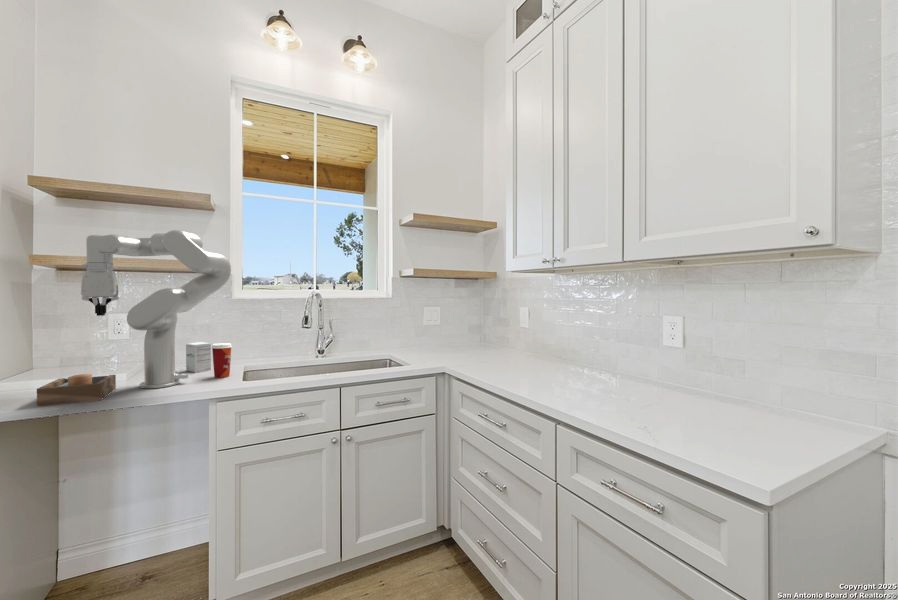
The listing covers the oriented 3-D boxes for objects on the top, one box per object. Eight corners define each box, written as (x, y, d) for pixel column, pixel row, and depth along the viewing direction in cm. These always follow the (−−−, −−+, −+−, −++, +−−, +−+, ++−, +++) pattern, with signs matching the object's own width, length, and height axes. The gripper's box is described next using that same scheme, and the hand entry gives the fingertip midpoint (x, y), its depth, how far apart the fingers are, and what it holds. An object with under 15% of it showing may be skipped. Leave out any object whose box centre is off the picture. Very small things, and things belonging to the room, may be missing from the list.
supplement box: (185, 371, 176) (185, 343, 176) (202, 368, 183) (202, 341, 182) (194, 372, 173) (194, 344, 172) (211, 369, 179) (211, 342, 179)
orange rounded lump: (91, 389, 139) (90, 373, 138) (93, 393, 134) (92, 376, 134) (68, 393, 134) (67, 376, 134) (69, 397, 130) (68, 379, 130)
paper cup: (231, 377, 164) (231, 344, 164) (210, 379, 161) (210, 345, 161) (232, 373, 171) (232, 342, 171) (212, 375, 168) (212, 343, 168)
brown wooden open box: (59, 394, 137) (58, 378, 136) (115, 389, 144) (115, 374, 143) (37, 406, 123) (36, 388, 123) (100, 400, 130) (100, 383, 130)
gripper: (70, 266, 142) (70, 316, 142) (121, 268, 149) (122, 315, 149) (78, 267, 149) (79, 315, 149) (127, 268, 155) (128, 314, 156)
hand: (100, 315), depth 149 cm, fingers closed
